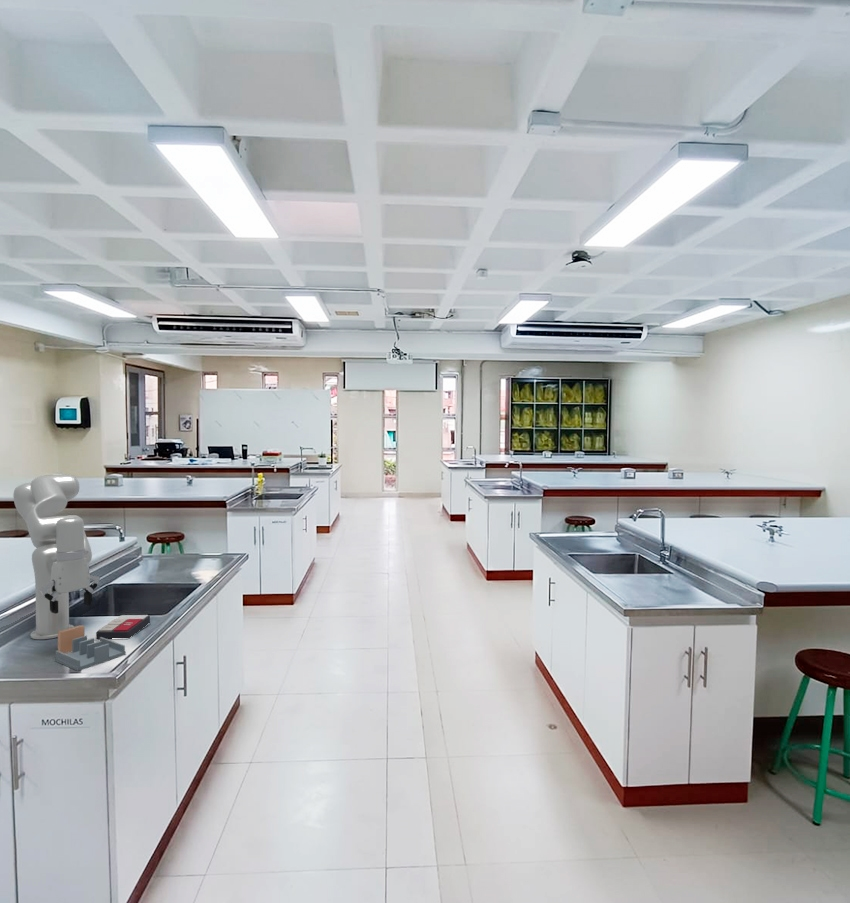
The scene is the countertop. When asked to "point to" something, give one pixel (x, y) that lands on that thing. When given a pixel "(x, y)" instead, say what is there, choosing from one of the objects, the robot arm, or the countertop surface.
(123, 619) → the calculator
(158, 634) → the countertop surface
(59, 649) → the tile
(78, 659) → the rack
